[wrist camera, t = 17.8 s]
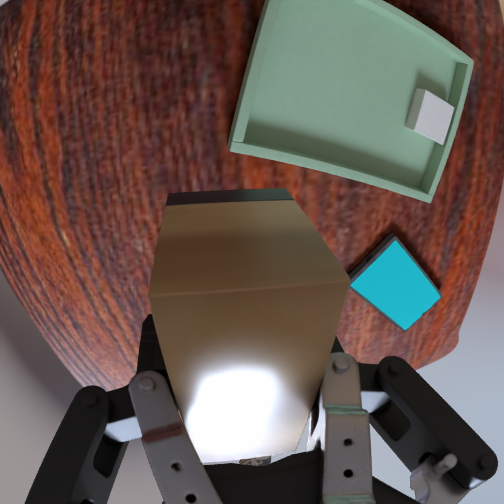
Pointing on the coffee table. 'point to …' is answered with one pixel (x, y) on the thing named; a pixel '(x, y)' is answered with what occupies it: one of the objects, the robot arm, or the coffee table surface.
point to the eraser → (244, 317)
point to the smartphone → (394, 283)
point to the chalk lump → (429, 116)
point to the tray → (348, 92)
